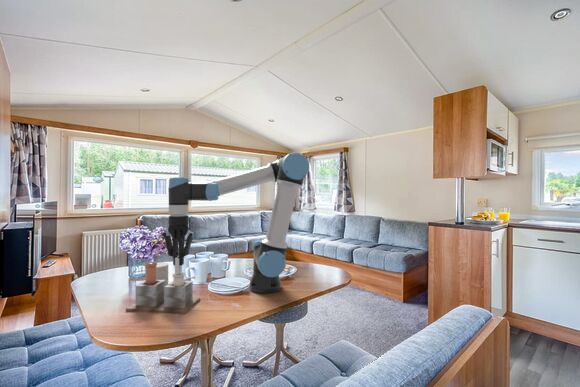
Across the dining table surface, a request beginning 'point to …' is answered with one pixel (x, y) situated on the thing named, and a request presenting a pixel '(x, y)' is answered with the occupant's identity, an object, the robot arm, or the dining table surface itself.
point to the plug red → (150, 273)
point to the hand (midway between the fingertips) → (178, 273)
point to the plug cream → (178, 279)
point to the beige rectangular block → (162, 272)
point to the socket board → (164, 298)
